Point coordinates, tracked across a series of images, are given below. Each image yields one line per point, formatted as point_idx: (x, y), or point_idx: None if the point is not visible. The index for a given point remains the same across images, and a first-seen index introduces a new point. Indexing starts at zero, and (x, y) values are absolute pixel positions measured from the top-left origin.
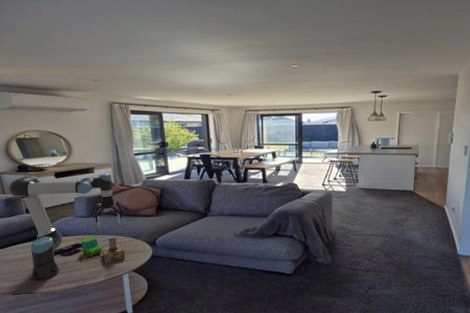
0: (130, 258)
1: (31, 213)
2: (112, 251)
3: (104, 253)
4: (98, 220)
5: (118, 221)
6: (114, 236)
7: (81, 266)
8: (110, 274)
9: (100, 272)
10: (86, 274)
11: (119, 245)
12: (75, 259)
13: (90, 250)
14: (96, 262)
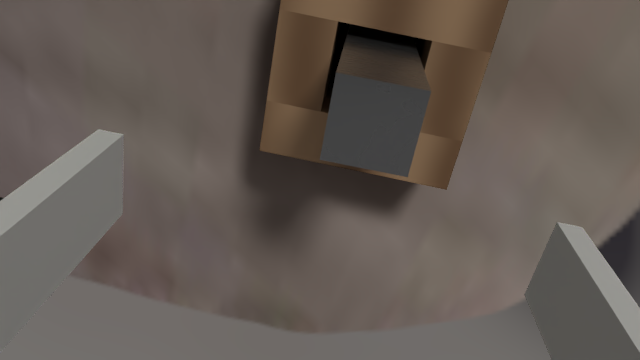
0: (468, 197)
1: None
2: None
3: (267, 122)
4: (26, 307)
5: (548, 286)
6: (411, 121)
7: (93, 37)
8: (257, 315)
9: (209, 246)
10: None
11: (472, 25)
12: None
13: None
14: (215, 54)
